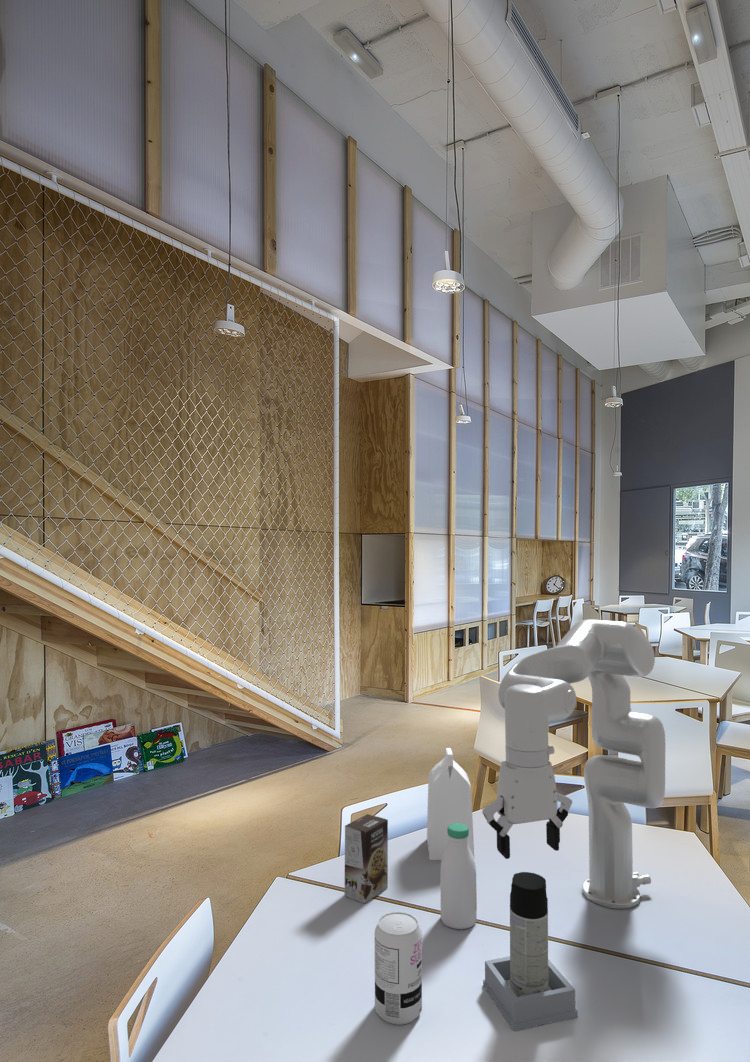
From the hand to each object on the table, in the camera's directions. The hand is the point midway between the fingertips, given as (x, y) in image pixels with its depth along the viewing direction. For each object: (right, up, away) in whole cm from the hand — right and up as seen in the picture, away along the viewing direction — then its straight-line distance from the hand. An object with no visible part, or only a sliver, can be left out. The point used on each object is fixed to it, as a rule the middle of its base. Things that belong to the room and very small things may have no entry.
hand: (528, 851), depth 119 cm
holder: (0, -26, -1) cm, 26 cm away
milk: (-8, -28, +58) cm, 65 cm away
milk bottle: (-10, -27, +24) cm, 38 cm away
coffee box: (-30, -27, +36) cm, 54 cm away
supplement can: (-24, -26, -3) cm, 35 cm away
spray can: (0, -25, -1) cm, 25 cm away
